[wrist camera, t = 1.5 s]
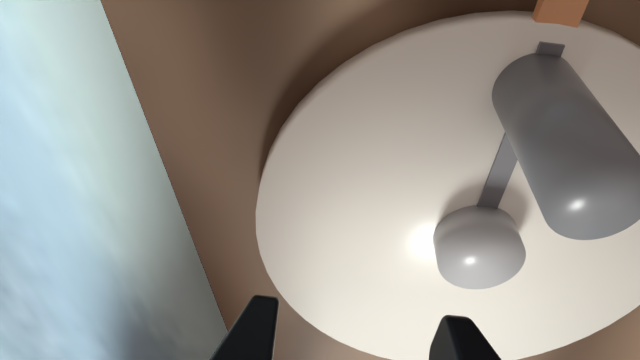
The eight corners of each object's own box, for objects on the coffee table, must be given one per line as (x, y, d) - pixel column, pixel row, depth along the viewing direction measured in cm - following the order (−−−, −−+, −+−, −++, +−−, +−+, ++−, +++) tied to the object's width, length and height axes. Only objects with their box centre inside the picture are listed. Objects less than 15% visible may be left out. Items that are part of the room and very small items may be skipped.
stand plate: (253, 364, 30) (243, 435, 27) (101, -58, 17) (45, -17, 14) (680, 340, 27) (725, 415, 24) (892, -176, 14) (1050, -161, 11)
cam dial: (586, 363, 26) (644, 503, 21) (249, 328, 25) (227, 466, 20) (844, -3, 15) (1085, 106, 10) (277, -81, 15) (244, -4, 10)
